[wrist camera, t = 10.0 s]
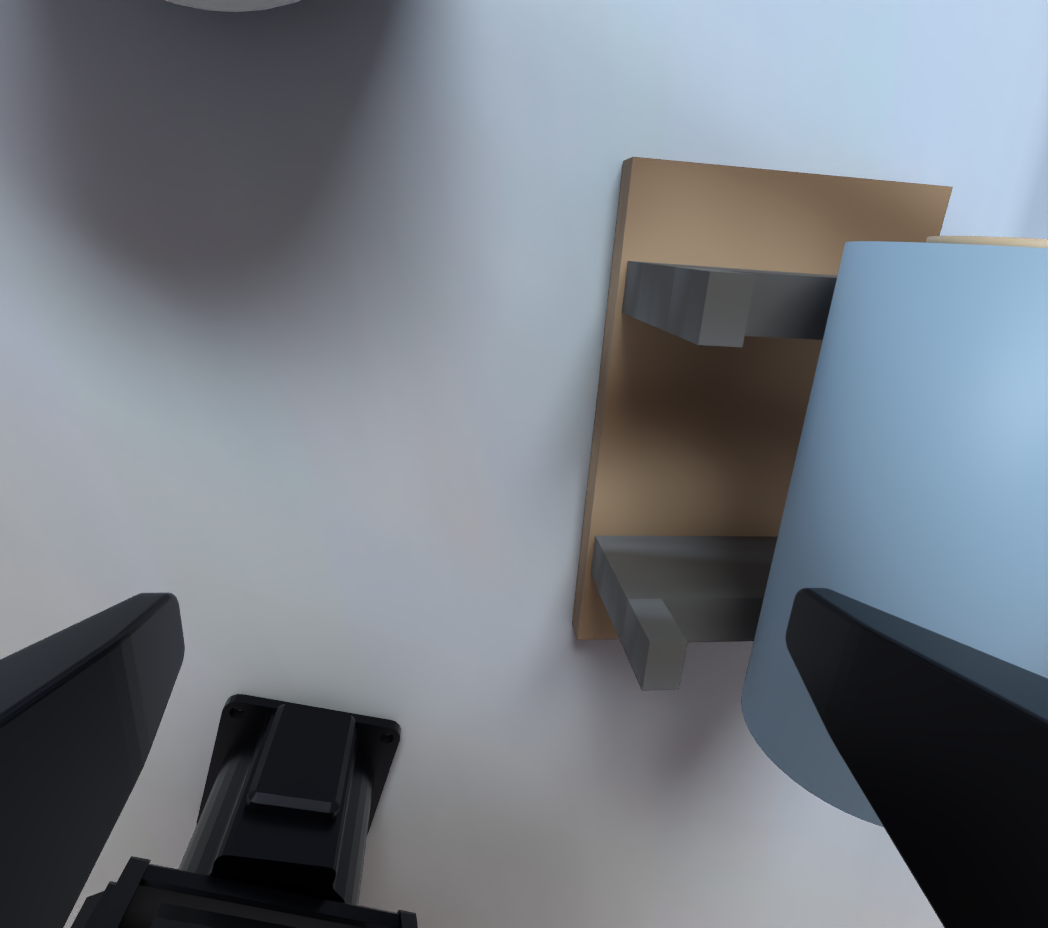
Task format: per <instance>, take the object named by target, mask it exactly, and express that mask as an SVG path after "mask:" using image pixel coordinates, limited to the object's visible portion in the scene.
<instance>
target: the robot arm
mask: <svg viewBox="0 0 1048 928" xmlns="http://www.w3.org/2000/svg"><path fill="white" fill-rule="evenodd" d="M785 639H786V645H787V649H788V652H789V654H790V656H791V658H792V660H793V662H794V664H795V666H796V668H797V670H798V672H799V674H800V677H801V679H802V681H803V683H804V685H805V687H806V689H807V691H808V693H809V695H810V697H811V700H812V702H813V704H814V706H815V708H816V710H817V712H818V714H819V716H820V718H821V720H822V722H823V724H824V726H825V728H826V730H827V732H828V734H829V736H830V738H831V740H832V741H833V743H834V745H835V747H836V748H837V750H838V752H839V754H840V755H841V757H842V759H843V760H844V762H845V764H846V765H847V767H848V769H849V770H850V772H851V774H852V775H853V777H854V779H855V780H856V782H857V784H858V785H859V787H860V788H861V790H862V792H863V793H864V795H865V797H866V798H867V800H868V802H869V803H870V805H871V807H872V808H873V810H874V812H875V813H876V815H877V817H878V818H879V820H880V822H881V823H882V825H883V827H884V828H885V830H886V832H887V833H888V835H889V837H890V838H891V840H892V842H893V843H894V845H895V846H896V848H897V850H898V851H899V853H900V855H901V856H902V858H903V860H904V861H905V863H906V865H907V866H908V868H909V870H910V871H911V873H912V875H913V876H914V878H915V880H916V881H917V883H918V885H919V886H920V888H921V890H922V891H923V893H924V895H925V896H926V898H927V900H928V901H929V903H930V904H931V906H932V908H933V909H934V911H935V913H936V914H937V916H938V918H939V919H940V921H941V923H942V924H943V926H944V928H1048V678H1046V677H1043V676H1041V675H1038V674H1036V673H1033V672H1031V671H1028V670H1026V669H1024V668H1021V667H1019V666H1016V665H1014V664H1011V663H1009V662H1006V661H1004V660H1002V659H999V658H997V657H994V656H992V655H989V654H987V653H984V652H982V651H980V650H977V649H975V648H972V647H970V646H967V645H965V644H962V643H960V642H958V641H955V640H953V639H950V638H948V637H945V636H943V635H941V634H938V633H936V632H933V631H931V630H928V629H926V628H923V627H921V626H919V625H916V624H914V623H911V622H909V621H906V620H904V619H901V618H899V617H897V616H894V615H892V614H889V613H887V612H884V611H882V610H879V609H877V608H875V607H872V606H870V605H867V604H865V603H862V602H860V601H858V600H855V599H853V598H850V597H848V596H845V595H843V594H840V593H838V592H836V591H833V590H831V589H828V588H802V589H800V590H799V591H798V592H797V593H796V595H795V598H794V601H793V605H792V609H791V613H790V617H789V621H788V625H787V629H786V637H785ZM184 651H185V645H184V637H183V630H182V623H181V616H180V609H179V603H178V600H177V598H176V596H175V595H173V594H172V593H140V594H138V595H136V596H133V597H131V598H129V599H127V600H125V601H123V602H121V603H119V604H117V605H114V606H112V607H110V608H108V609H106V610H104V611H102V612H100V613H98V614H96V615H93V616H91V617H89V618H87V619H85V620H83V621H81V622H79V623H77V624H74V625H72V626H70V627H68V628H66V629H64V630H62V631H60V632H58V633H56V634H53V635H51V636H49V637H47V638H45V639H43V640H41V641H39V642H37V643H34V644H32V645H30V646H28V647H26V648H24V649H22V650H20V651H18V652H15V653H13V654H11V655H9V656H7V657H5V658H3V659H1V660H0V928H63V927H64V925H65V923H66V921H67V919H68V917H69V915H70V913H71V911H72V909H73V907H74V905H75V903H76V901H77V899H78V897H79V895H80V893H81V891H82V889H83V887H84V885H85V883H86V881H87V879H88V877H89V875H90V873H91V871H92V869H93V867H94V865H95V863H96V861H97V859H98V857H99V855H100V853H101V851H102V849H103V847H104V845H105V843H106V841H107V839H108V837H109V835H110V833H111V831H112V830H113V828H114V826H115V824H116V822H117V820H118V818H119V816H120V814H121V812H122V810H123V808H124V806H125V804H126V802H127V800H128V798H129V796H130V794H131V792H132V790H133V788H134V786H135V784H136V781H137V779H138V777H139V775H140V773H141V771H142V769H143V767H144V764H145V762H146V759H147V757H148V754H149V752H150V749H151V746H152V744H153V741H154V738H155V736H156V733H157V730H158V727H159V725H160V722H161V719H162V717H163V714H164V711H165V708H166V706H167V703H168V700H169V698H170V695H171V692H172V690H173V687H174V684H175V681H176V679H177V676H178V673H179V671H180V668H181V665H182V662H183V658H184ZM234 707H239V708H241V709H242V710H243V711H238V710H236V709H235V708H234ZM400 730H401V728H400V726H399V724H398V723H396V722H395V721H392V720H387V719H381V718H375V717H370V716H364V715H358V714H352V713H347V712H341V711H335V710H330V709H324V708H318V707H312V706H307V705H301V704H295V703H289V702H284V701H278V700H272V699H266V698H261V697H255V696H249V695H243V694H236V695H233V696H231V697H230V698H229V699H228V700H227V702H226V704H225V706H224V708H223V710H222V715H221V719H220V723H219V728H218V732H217V736H216V741H215V745H214V750H213V754H212V758H211V763H210V767H209V771H208V776H207V780H206V784H205V789H204V793H203V797H202V802H201V806H200V811H199V815H198V819H197V826H196V829H195V831H194V833H193V836H192V838H191V841H190V843H189V845H188V848H187V850H186V853H185V855H184V857H183V860H182V862H181V865H180V867H179V869H173V868H168V867H163V866H158V865H153V864H149V863H150V860H148V859H143V858H138V857H133V856H131V858H130V859H129V861H128V863H127V865H126V867H125V869H124V870H123V872H122V874H121V876H120V878H119V880H118V881H117V883H116V882H111V881H110V882H109V884H108V886H107V887H106V889H105V891H103V892H100V893H98V894H95V895H92V896H89V897H87V898H86V900H85V902H84V904H83V906H82V908H81V910H80V911H79V913H78V915H77V917H76V919H75V921H74V923H73V924H72V926H71V928H418V926H417V918H416V913H412V912H407V911H402V910H399V911H398V912H397V913H394V912H389V911H384V910H379V909H374V908H369V907H364V906H359V905H358V902H359V894H360V886H361V878H362V870H363V862H364V854H365V846H366V838H367V834H368V832H369V829H370V826H371V823H372V820H373V817H374V814H375V811H376V808H377V805H378V802H379V799H380V796H381V793H382V791H383V788H384V785H385V782H386V779H387V776H388V773H389V770H390V767H391V764H392V761H393V758H394V755H395V752H396V749H397V747H398V744H399V741H400ZM384 733H390V734H391V735H384Z"/></svg>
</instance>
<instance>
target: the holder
mask: <svg viewBox="0 0 1048 928" xmlns="http://www.w3.org/2000/svg"><path fill="white" fill-rule="evenodd" d="M952 188H953V187H948V186H937V185H926V184H916V183H905V182H895V181H884V180H873V179H863V178H852V177H841V176H831V175H820V174H810V173H799V172H788V171H778V170H767V169H756V168H746V167H735V166H725V165H714V164H703V163H693V162H682V161H671V160H661V159H650V158H640V157H632V158H629V159H627V160H624V161H623V168H622V177H621V186H620V196H619V205H618V214H617V223H616V232H615V241H614V250H613V259H612V268H611V277H610V286H609V295H608V304H607V313H606V322H605V331H604V340H603V349H602V358H601V368H600V377H599V386H598V395H597V404H596V413H595V422H594V431H593V440H592V449H591V458H590V467H589V476H588V485H587V494H586V503H585V512H584V521H583V530H582V540H581V549H580V558H579V567H578V576H577V585H576V594H575V603H574V612H573V621H572V625H573V628H574V631H575V634H576V637H577V640H592V639H620V641H621V644H622V646H623V648H624V651H625V653H626V655H627V657H628V660H629V662H630V664H631V666H632V669H633V671H634V673H635V676H636V678H637V680H638V682H639V685H640V687H641V689H642V690H674V689H679V685H680V679H681V674H682V669H683V663H684V658H685V652H686V647H687V642H726V641H754V638H755V634H756V630H757V625H758V621H759V617H760V612H761V608H762V603H763V599H764V595H765V590H766V586H767V582H768V577H769V573H770V568H771V564H772V560H773V555H774V551H775V547H776V542H777V538H778V534H779V529H780V525H781V520H782V516H783V512H784V507H785V503H786V499H787V494H788V490H789V485H790V481H791V477H792V472H793V468H794V464H795V459H796V455H797V451H798V446H799V442H800V437H801V433H802V429H803V424H804V420H805V416H806V411H807V407H808V402H809V398H810V394H811V389H812V385H813V381H814V376H815V372H816V368H817V363H818V359H819V354H820V350H821V346H822V341H823V337H824V333H825V328H826V324H827V319H828V315H829V311H830V306H831V302H832V298H833V293H834V289H835V285H836V280H837V276H838V271H839V267H840V263H841V258H842V254H843V250H844V245H845V242H853V241H883V242H921V243H926V239H927V237H929V236H939V235H940V231H941V228H942V224H943V221H944V217H945V213H946V210H947V206H948V203H949V199H950V195H951V192H952Z"/></svg>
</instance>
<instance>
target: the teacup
mask: <svg viewBox="0 0 1048 928" xmlns="http://www.w3.org/2000/svg"><path fill="white" fill-rule="evenodd" d="M165 1H168V2H171V3H174V4H178V5H183V6H188V7H192V8H197V9H202V10H211V11H224V12H244V11H258V10H266V9H271V8H275V7H279V6H283V5H288V4H292V3H296V2H298V1H301V0H165Z"/></svg>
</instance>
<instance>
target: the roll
mask: <svg viewBox="0 0 1048 928" xmlns="http://www.w3.org/2000/svg"><path fill="white" fill-rule="evenodd" d="M802 588H828V589H831V590H833V591H836V592H838V593H840V594H843V595H845V596H848V597H850V598H853V599H855V600H858V601H860V602H862V603H865V604H867V605H870V606H872V607H875V608H877V609H879V610H882V611H884V612H887V613H889V614H892V615H894V616H897V617H899V618H901V619H904V620H906V621H909V622H911V623H914V624H916V625H919V626H921V627H923V628H926V629H928V630H931V631H933V632H936V633H938V634H941V635H943V636H945V637H948V638H950V639H953V640H955V641H958V642H960V643H962V644H965V645H967V646H970V647H972V648H975V649H977V650H980V651H982V652H984V653H987V654H989V655H992V656H994V657H997V658H999V659H1002V660H1004V661H1006V662H1009V663H1011V664H1014V665H1016V666H1019V667H1021V668H1024V669H1026V670H1028V671H1031V672H1033V673H1036V674H1038V675H1041V676H1043V677H1046V678H1048V239H1033V238H1011V237H982V236H929V237H927V239H926V243H921V242H883V241H853V242H845V245H844V250H843V254H842V258H841V263H840V267H839V271H838V276H837V280H836V285H835V289H834V293H833V298H832V302H831V306H830V311H829V315H828V319H827V324H826V328H825V333H824V337H823V341H822V346H821V350H820V354H819V359H818V363H817V368H816V372H815V376H814V381H813V385H812V389H811V394H810V398H809V402H808V407H807V411H806V416H805V420H804V424H803V429H802V433H801V437H800V442H799V446H798V451H797V455H796V459H795V464H794V468H793V472H792V477H791V481H790V485H789V490H788V494H787V499H786V503H785V507H784V512H783V516H782V520H781V525H780V529H779V534H778V538H777V542H776V547H775V551H774V555H773V560H772V564H771V568H770V573H769V577H768V582H767V586H766V590H765V595H764V599H763V603H762V608H761V612H760V617H759V621H758V625H757V630H756V634H755V638H754V643H753V647H752V651H751V656H750V660H749V665H748V669H747V673H746V678H745V682H744V686H743V691H742V698H741V705H742V712H743V716H744V719H745V722H746V724H747V726H748V729H749V731H750V733H751V734H752V736H753V737H754V739H755V741H756V742H757V744H758V745H759V746H760V747H761V749H762V750H763V751H764V753H765V754H766V755H767V756H768V757H769V758H770V759H771V760H772V761H773V762H774V763H775V764H776V765H777V766H778V767H779V768H780V769H781V770H782V771H783V772H784V773H785V774H787V775H788V776H789V777H790V778H791V779H792V780H794V781H795V782H796V783H798V784H799V785H801V786H802V787H803V788H805V789H806V790H807V791H809V792H810V793H812V794H814V795H815V796H817V797H818V798H820V799H822V800H823V801H825V802H827V803H829V804H830V805H832V806H834V807H836V808H838V809H840V810H842V811H844V812H846V813H848V814H851V815H853V816H855V817H858V818H860V819H862V820H865V821H868V822H871V823H873V824H876V825H879V826H882V827H883V825H882V823H881V822H880V820H879V818H878V817H877V815H876V813H875V812H874V810H873V808H872V807H871V805H870V803H869V802H868V800H867V798H866V797H865V795H864V793H863V792H862V790H861V788H860V787H859V785H858V784H857V782H856V780H855V779H854V777H853V775H852V774H851V772H850V770H849V769H848V767H847V765H846V764H845V762H844V760H843V759H842V757H841V755H840V754H839V752H838V750H837V748H836V747H835V745H834V743H833V741H832V740H831V738H830V736H829V734H828V732H827V730H826V728H825V726H824V724H823V722H822V720H821V718H820V716H819V714H818V712H817V710H816V708H815V706H814V704H813V702H812V700H811V697H810V695H809V693H808V691H807V689H806V687H805V685H804V683H803V681H802V679H801V677H800V674H799V672H798V670H797V668H796V666H795V664H794V662H793V660H792V658H791V656H790V654H789V652H788V649H787V645H786V639H785V637H786V629H787V625H788V621H789V617H790V613H791V609H792V605H793V601H794V598H795V595H796V593H797V592H798V591H799V590H800V589H802Z"/></svg>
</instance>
